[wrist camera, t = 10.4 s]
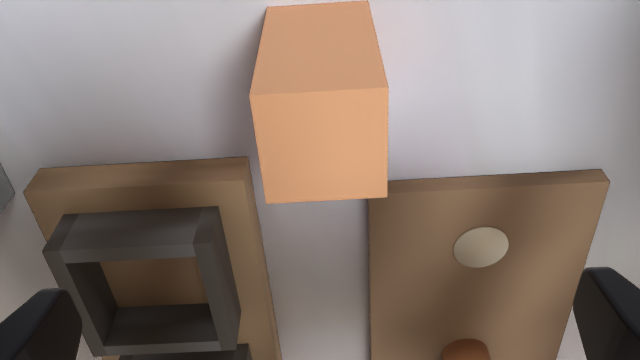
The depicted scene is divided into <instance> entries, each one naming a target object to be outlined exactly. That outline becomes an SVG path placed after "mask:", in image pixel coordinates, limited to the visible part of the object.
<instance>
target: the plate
mask: <svg viewBox="0 0 640 360" xmlns="http://www.w3.org/2000/svg"><path fill="white" fill-rule="evenodd" d="M609 184H610V180H609V179H608V178H607V176H606V175H605V174H604V172H603V171H602V169H597V170H578V171H560V172H542V173H524V174H506V175H488V176H469V177H451V178H433V179H415V180H397V181H387V197H384V198H368V228H369V294H370V360H556V358H557V354H558V351H559V348H560V344H561V341H562V338H563V335H564V331H565V328H566V325H567V322H568V318H569V315H570V312H571V308H572V305H573V300H574V296H575V293H576V289H577V286H578V283H579V280H580V277H581V274H582V272H583V269H584V266H585V263H586V259H587V256H588V253H589V250H590V246H591V243H592V240H593V237H594V233H595V230H596V227H597V223H598V220H599V217H600V214H601V210H602V207H603V204H604V201H605V197H606V194H607V191H608V187H609Z"/></svg>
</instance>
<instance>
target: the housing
mask: <svg viewBox="0 0 640 360" xmlns="http://www.w3.org/2000/svg"><path fill="white" fill-rule="evenodd" d="M14 194H15V193H14V191H13V189H12V187H11V185H10V183H9V181H8V179H7V177H6V175H5V173H4V171H3V169H2V167H1V165H0V214H1V212H2V211H3V209H4V208H5V207H6V205H7V204H8V202H9V201H10V200H11V198H12V197H13V195H14Z"/></svg>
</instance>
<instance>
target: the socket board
mask: <svg viewBox="0 0 640 360" xmlns="http://www.w3.org/2000/svg"><path fill="white" fill-rule="evenodd" d="M23 194H24V196H25V198H26V200H27V202H28V204H29V206H30V208H31V210H32V212H33V214H34V217H35V219H36V221H37V223H38V225H39V227H40V229H41V231H42V233H43V235H44V237H45V240H46V242H47V244H46V245H45V247H44V249H43V251H42V253H43V255H44V257H45V259H46V261H47V263H48V265H49V267H50V269H51V271H52V273H53V275H54V278H55V280H56V282H57V284H58V286H59V288H64V289H66V290H67V291H69V293H70V295H71V297H72V299H73V301H74V303H75V305H76V307H77V309H78V311H79V314H80V316H81V318H82V325H83V326H82V334H83V336H84V338H85V340H86V343H87V345H88V347H89V349H90V351H91V353H92V355H93V357H95V356H101V357H102V359H103V360H282V356H281V350H280V344H279V338H278V332H277V326H276V320H275V314H274V309H273V303H272V297H271V291H270V285H269V279H268V273H267V267H266V261H265V255H264V249H263V243H262V237H261V231H260V225H259V219H258V213H257V207H256V202H255V196H254V190H253V184H252V178H251V172H250V166H249V160H248V157H234V158H217V159H199V160H181V161H164V162H146V163H129V164H111V165H94V166H76V167H58V168H41V169H39V170H38V172H37V173H36V175H35V176H34V177H33V179H32V180H31V182H30V183H29V185H28V186H27V187H26V189H25V190H24V192H23Z"/></svg>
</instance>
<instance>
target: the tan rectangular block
mask: <svg viewBox="0 0 640 360" xmlns="http://www.w3.org/2000/svg"><path fill="white" fill-rule="evenodd" d="M249 97H250V104H251V110H252V117H253V123H254V130H255V136H256V143H257V149H258V156H259V162H260V168H261V175H262V181H263V188H264V194H265V201H266V204H273V203H291V202H310V201H328V200H347V199H365V198H384V197H387V175H388V83H387V79H386V75H385V70H384V66H383V62H382V57H381V53H380V49H379V45H378V40H377V36H376V32H375V28H374V23H373V19H372V15H371V11H370V6H369V2H368V0H367V1H352V2H337V3H321V4H306V5H291V6H275V7H267V11H266V16H265V21H264V26H263V30H262V35H261V40H260V45H259V50H258V55H257V60H256V65H255V70H254V75H253V79H252V84H251V89H250V94H249Z"/></svg>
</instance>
